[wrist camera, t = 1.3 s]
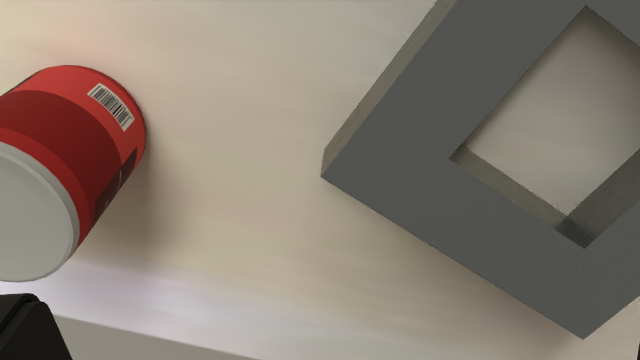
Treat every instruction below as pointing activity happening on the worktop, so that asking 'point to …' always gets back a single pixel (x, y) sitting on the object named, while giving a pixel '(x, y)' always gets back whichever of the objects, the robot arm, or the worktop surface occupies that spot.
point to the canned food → (61, 164)
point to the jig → (479, 176)
